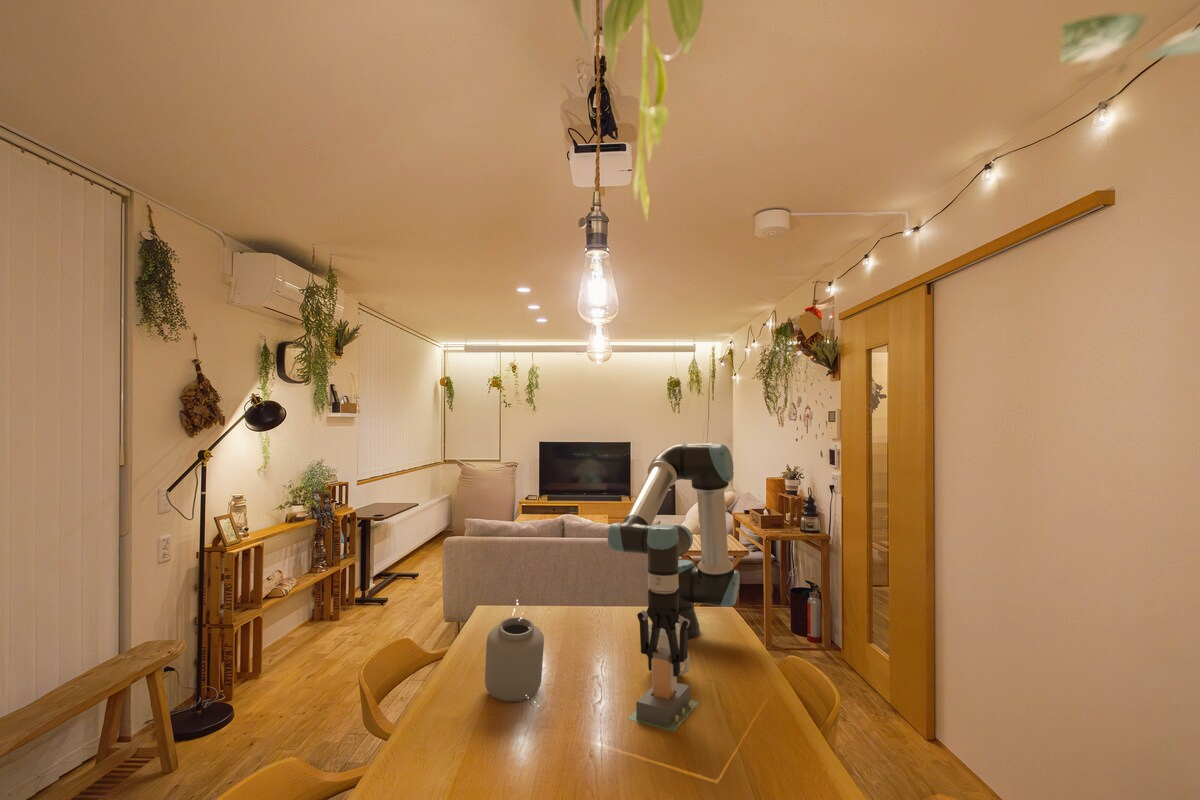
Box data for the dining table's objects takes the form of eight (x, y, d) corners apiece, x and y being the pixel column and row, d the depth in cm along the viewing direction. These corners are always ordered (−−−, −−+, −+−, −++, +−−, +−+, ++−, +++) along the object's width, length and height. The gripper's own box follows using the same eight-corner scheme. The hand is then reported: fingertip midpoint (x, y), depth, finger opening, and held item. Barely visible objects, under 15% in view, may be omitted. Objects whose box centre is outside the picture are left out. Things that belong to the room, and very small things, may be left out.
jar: (553, 706, 143) (553, 604, 144) (495, 718, 137) (495, 612, 138) (532, 676, 161) (532, 585, 162) (479, 685, 155) (480, 591, 156)
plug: (660, 704, 143) (659, 646, 143) (675, 708, 141) (674, 650, 141) (653, 711, 139) (652, 652, 140) (668, 715, 137) (668, 656, 138)
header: (655, 693, 150) (654, 675, 150) (698, 704, 144) (698, 685, 144) (626, 720, 136) (626, 701, 136) (674, 734, 130) (673, 713, 130)
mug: (703, 682, 156) (703, 633, 157) (672, 692, 150) (672, 642, 151) (668, 663, 168) (667, 618, 169) (638, 672, 162) (637, 625, 163)
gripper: (625, 588, 142) (626, 684, 141) (690, 598, 134) (691, 701, 133) (638, 581, 149) (639, 673, 148) (701, 590, 140) (702, 688, 139)
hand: (664, 686), depth 140 cm, fingers closed on plug, 4 cm apart
